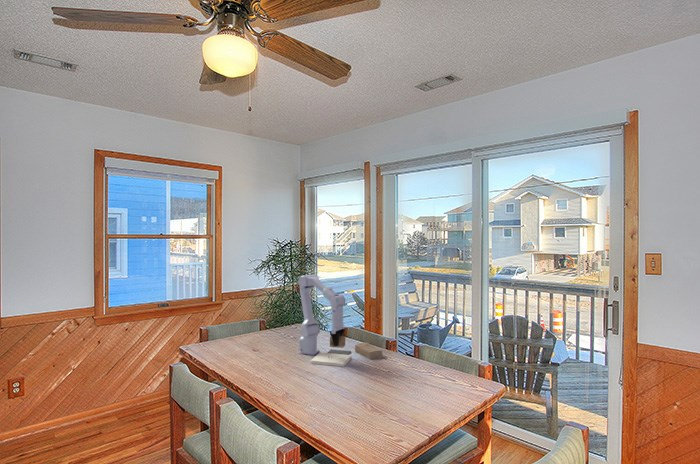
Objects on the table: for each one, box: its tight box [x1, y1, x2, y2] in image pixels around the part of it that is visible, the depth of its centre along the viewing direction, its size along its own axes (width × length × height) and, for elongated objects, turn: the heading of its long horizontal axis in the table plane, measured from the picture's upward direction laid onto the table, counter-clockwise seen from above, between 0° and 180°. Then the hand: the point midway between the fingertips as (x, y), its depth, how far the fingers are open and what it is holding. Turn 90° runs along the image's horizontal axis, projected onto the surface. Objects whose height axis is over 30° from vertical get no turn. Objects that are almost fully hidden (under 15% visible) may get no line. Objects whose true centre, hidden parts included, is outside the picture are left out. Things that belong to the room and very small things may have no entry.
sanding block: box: [329, 335, 346, 349], centre depth 197 cm, size 7×5×5 cm
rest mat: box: [327, 348, 352, 355], centre depth 210 cm, size 12×8×1 cm, turn 74°
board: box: [310, 351, 352, 367], centre depth 198 cm, size 18×14×2 cm
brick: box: [354, 342, 383, 360], centre depth 208 cm, size 17×8×5 cm, turn 31°
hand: (337, 344), depth 197 cm, fingers closed on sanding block, 5 cm apart
